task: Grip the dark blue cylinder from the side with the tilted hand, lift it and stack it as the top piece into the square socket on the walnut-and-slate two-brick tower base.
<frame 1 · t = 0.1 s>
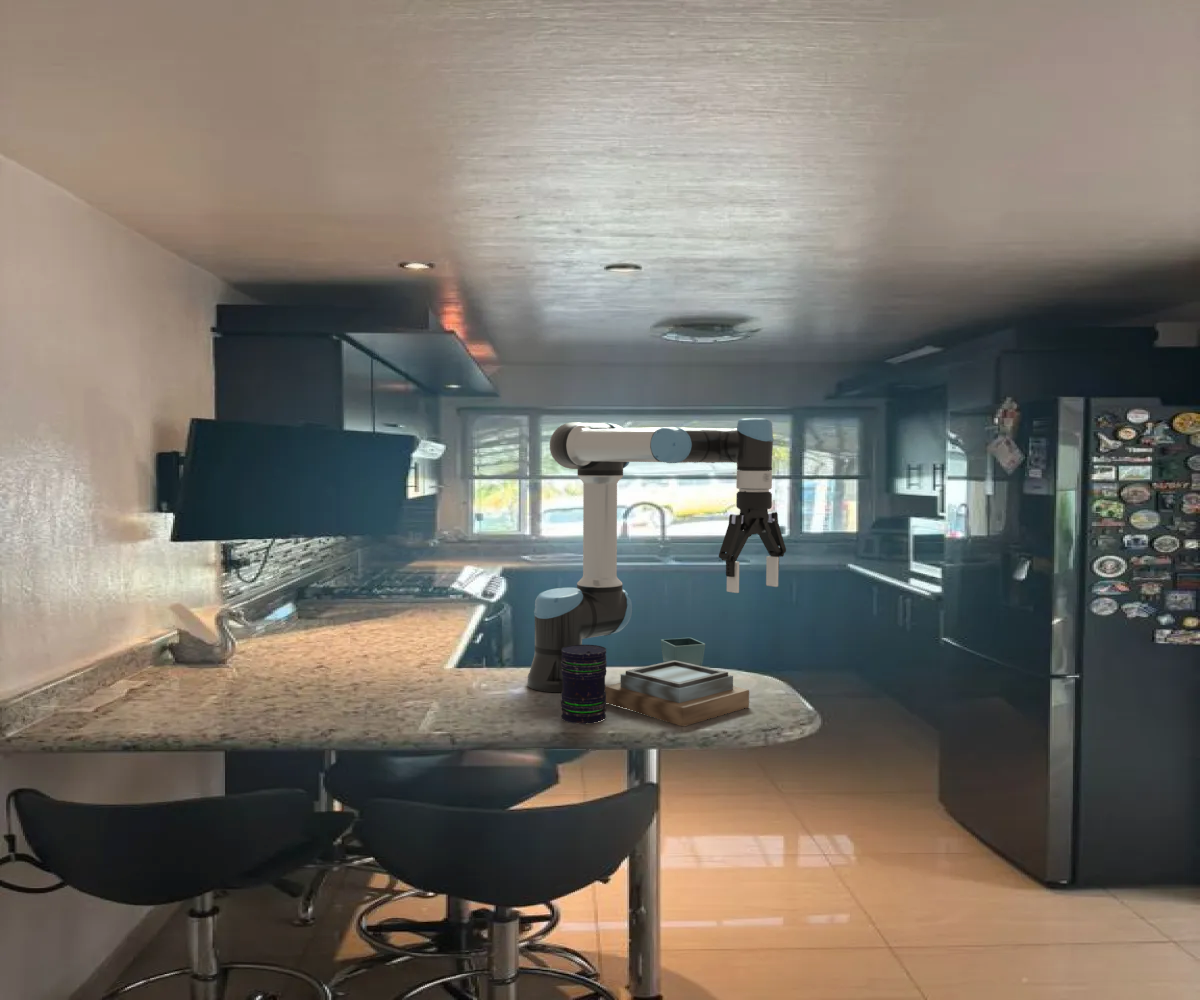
hand: (752, 589, 200), 28 cm above the counter, tool pointing down, fingers open, 13 cm apart
tower base: (676, 705, 211), on the counter
dark blue cylinder: (583, 718, 201), on the counter
flower pot: (682, 676, 239), on the counter
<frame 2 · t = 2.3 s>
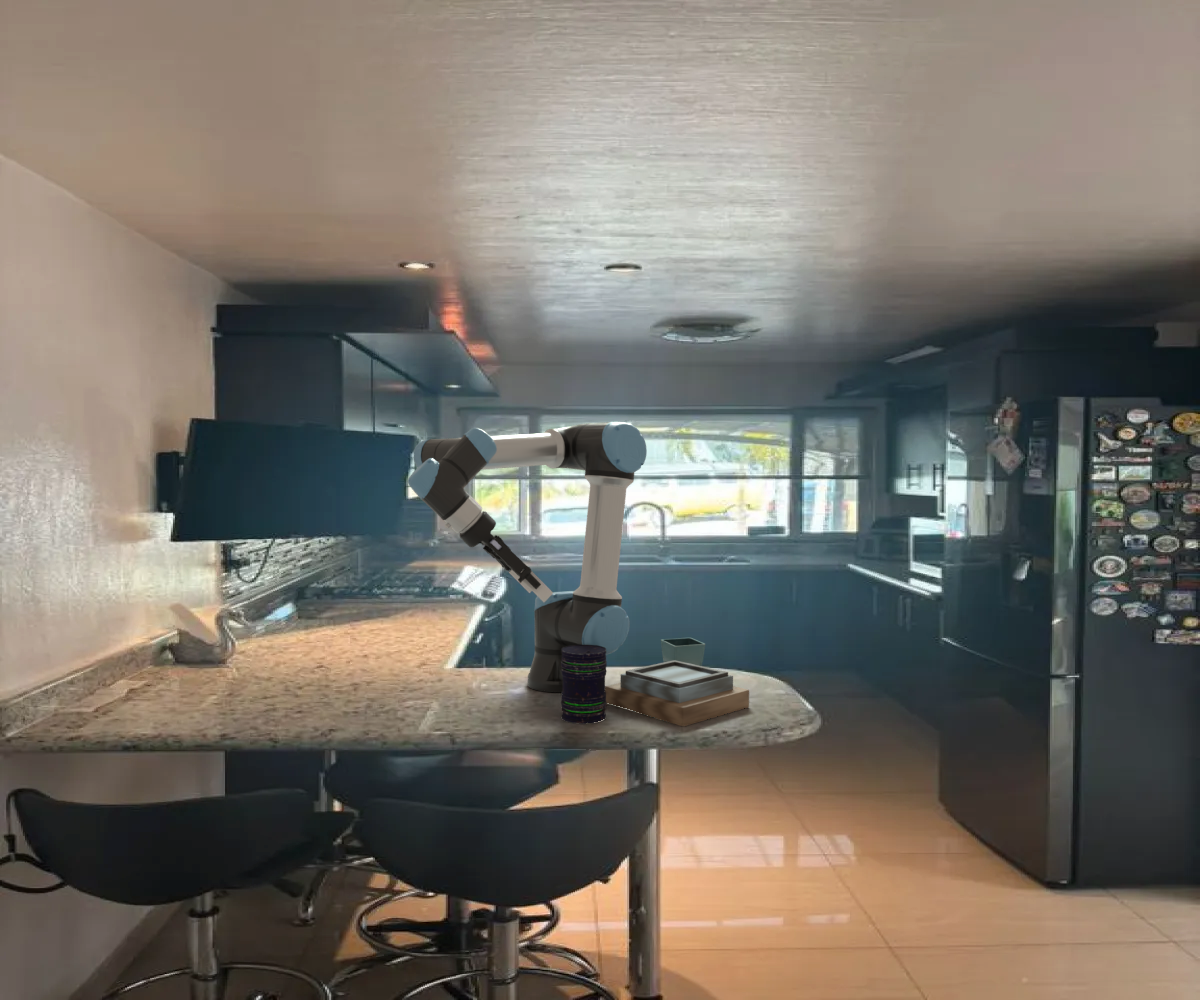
hand: (540, 593, 197), 27 cm above the counter, tool tilted 45°, fingers open, 13 cm apart
nothing on the counter moved.
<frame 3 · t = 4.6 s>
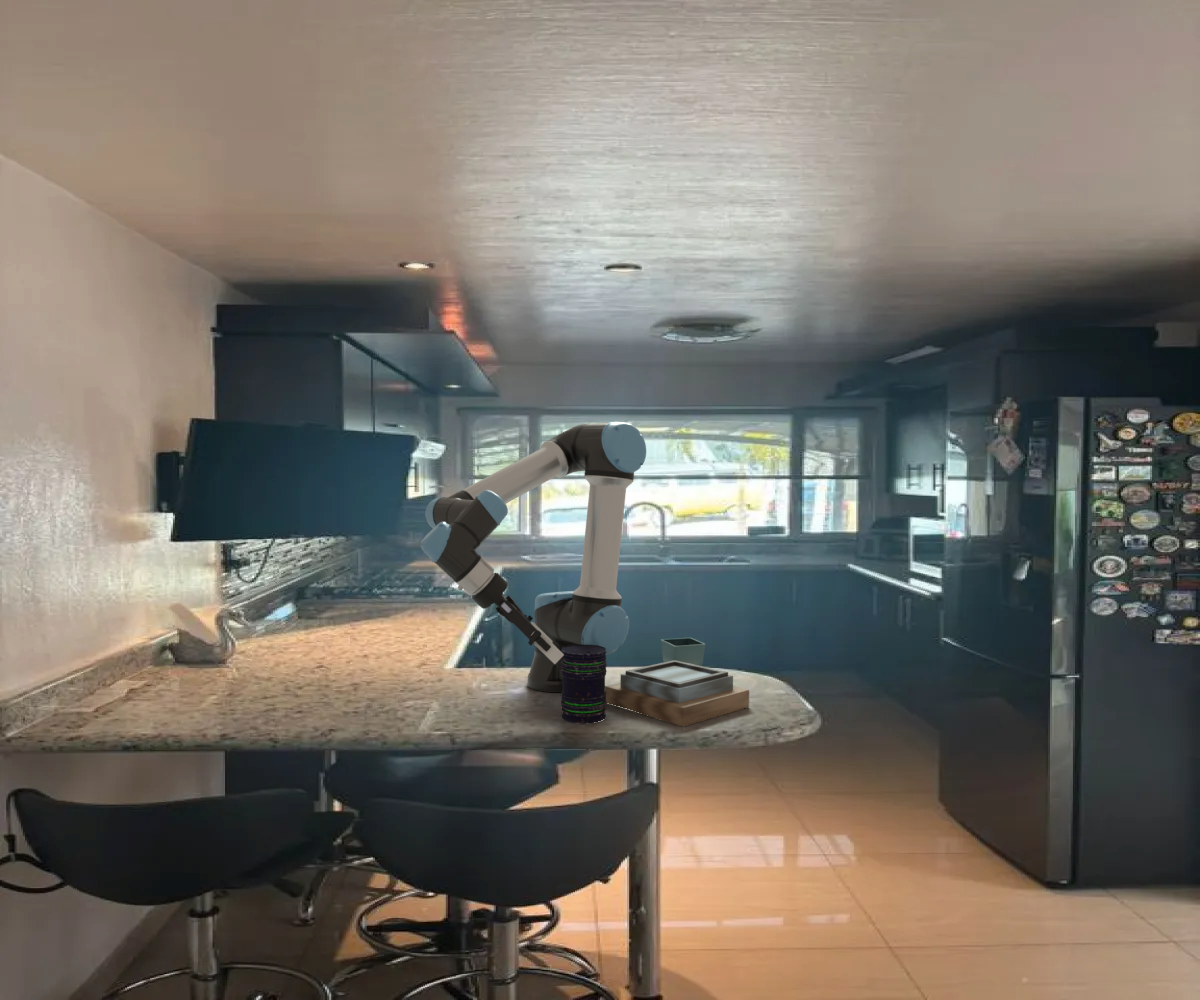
hand: (553, 652, 198), 15 cm above the counter, tool tilted 45°, fingers open, 13 cm apart
nothing on the counter moved.
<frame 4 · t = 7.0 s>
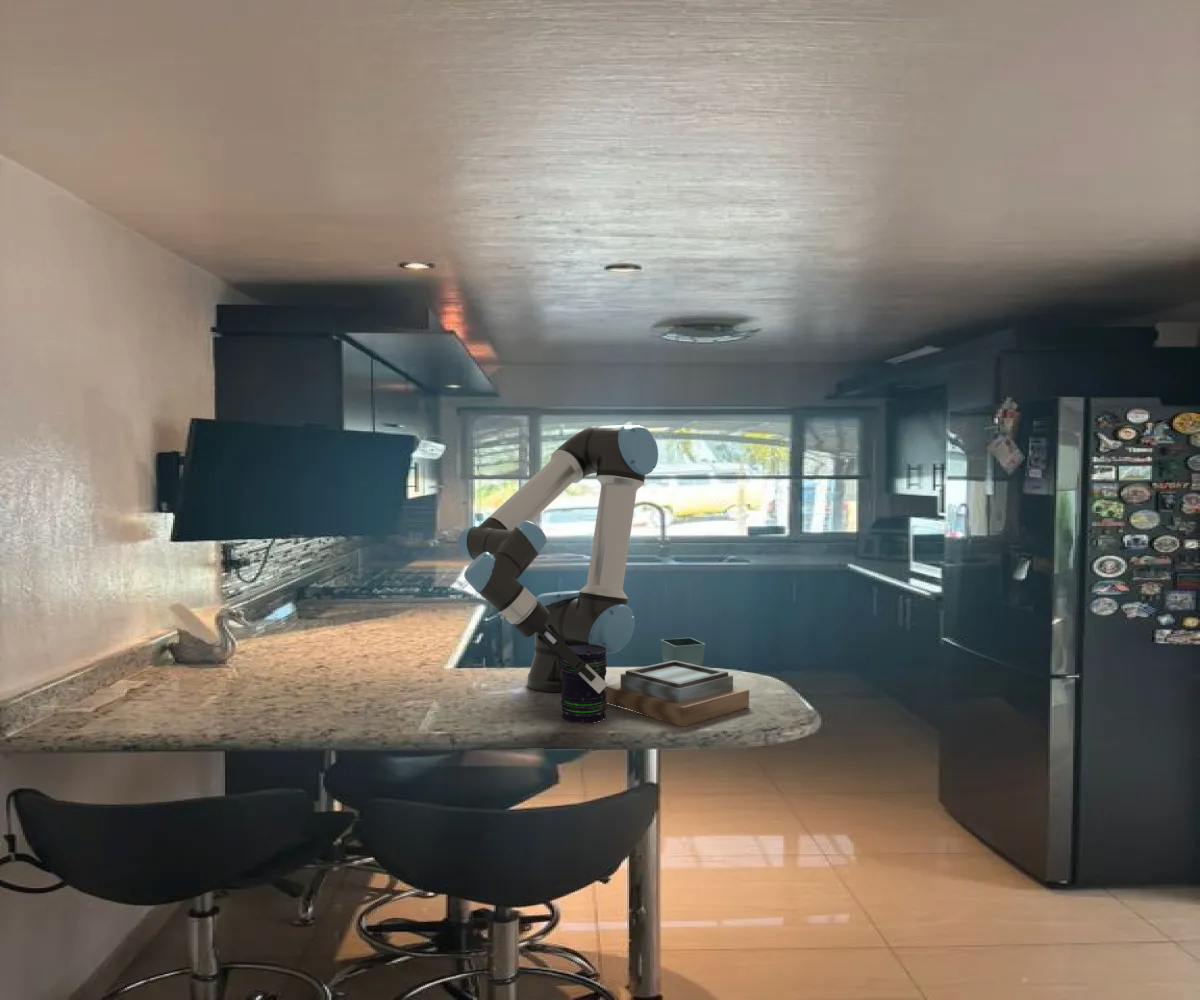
hand: (597, 682, 201), 7 cm above the counter, tool tilted 45°, fingers closed on dark blue cylinder, 10 cm apart
dark blue cylinder: (583, 718, 201), on the counter, touching gripper
everything else where it was.
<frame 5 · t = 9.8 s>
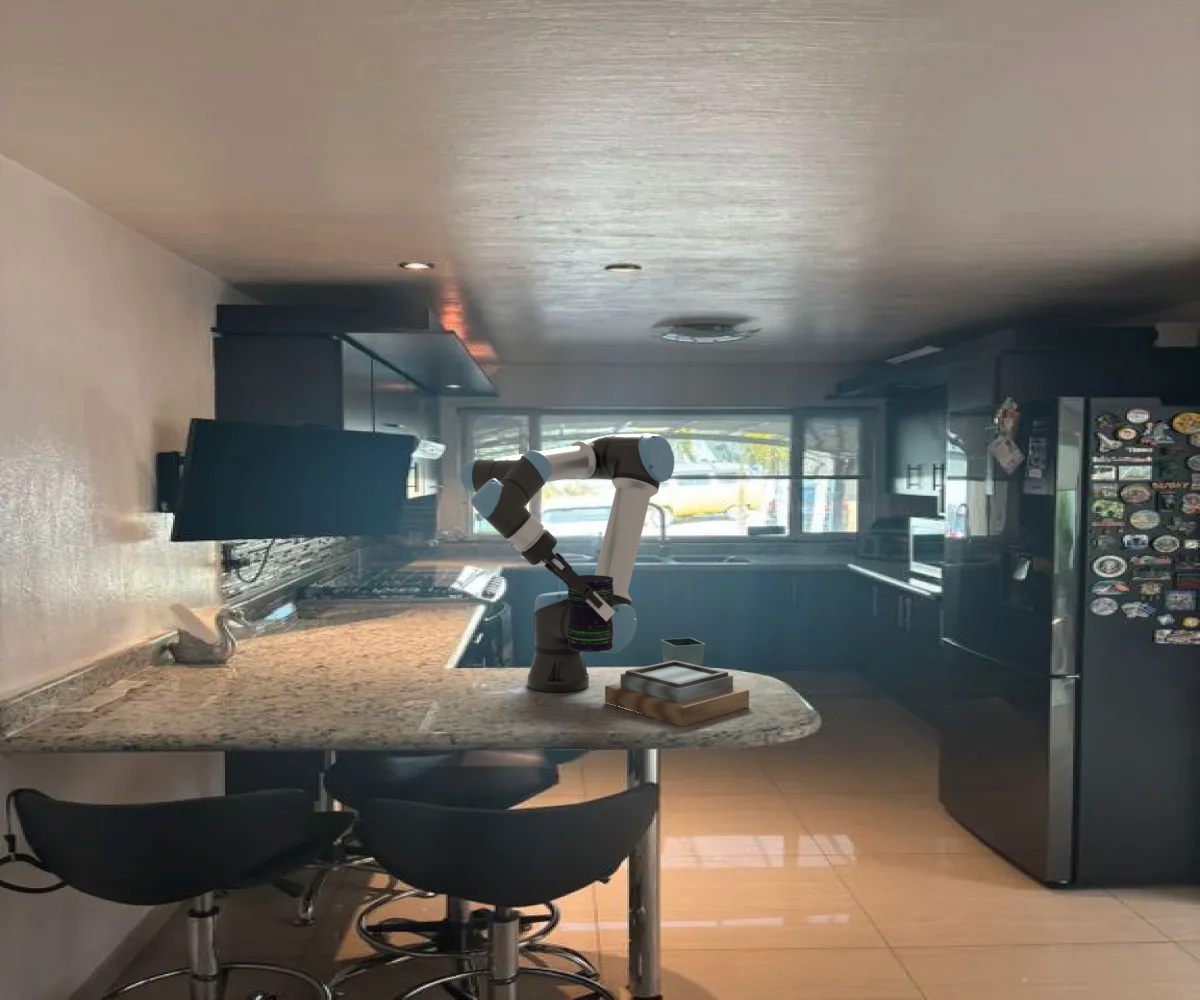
hand: (604, 612, 201), 23 cm above the counter, tool tilted 45°, fingers closed on dark blue cylinder, 10 cm apart
dark blue cylinder: (590, 648, 200), point 15 cm above the counter, touching gripper
everything else where it was.
when the fingers open (16 cm above the counter, at t = 12.8 s): dark blue cylinder drops 2 cm, resting on tower base.
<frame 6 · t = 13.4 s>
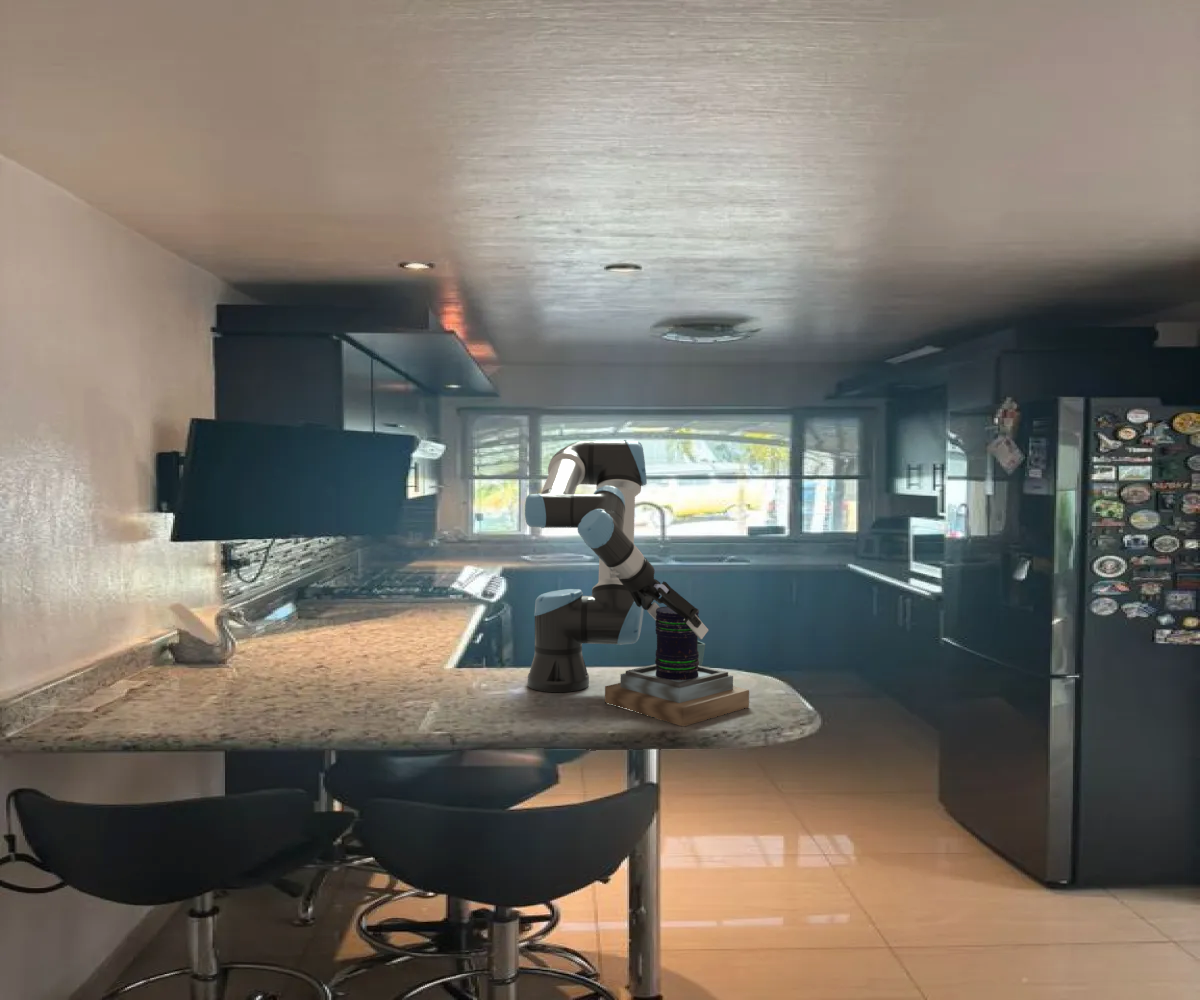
hand: (685, 629, 211), 17 cm above the counter, tool tilted 45°, fingers open, 13 cm apart
dark blue cylinder: (676, 676, 210), point 7 cm above the counter, touching tower base
everything else where it was.
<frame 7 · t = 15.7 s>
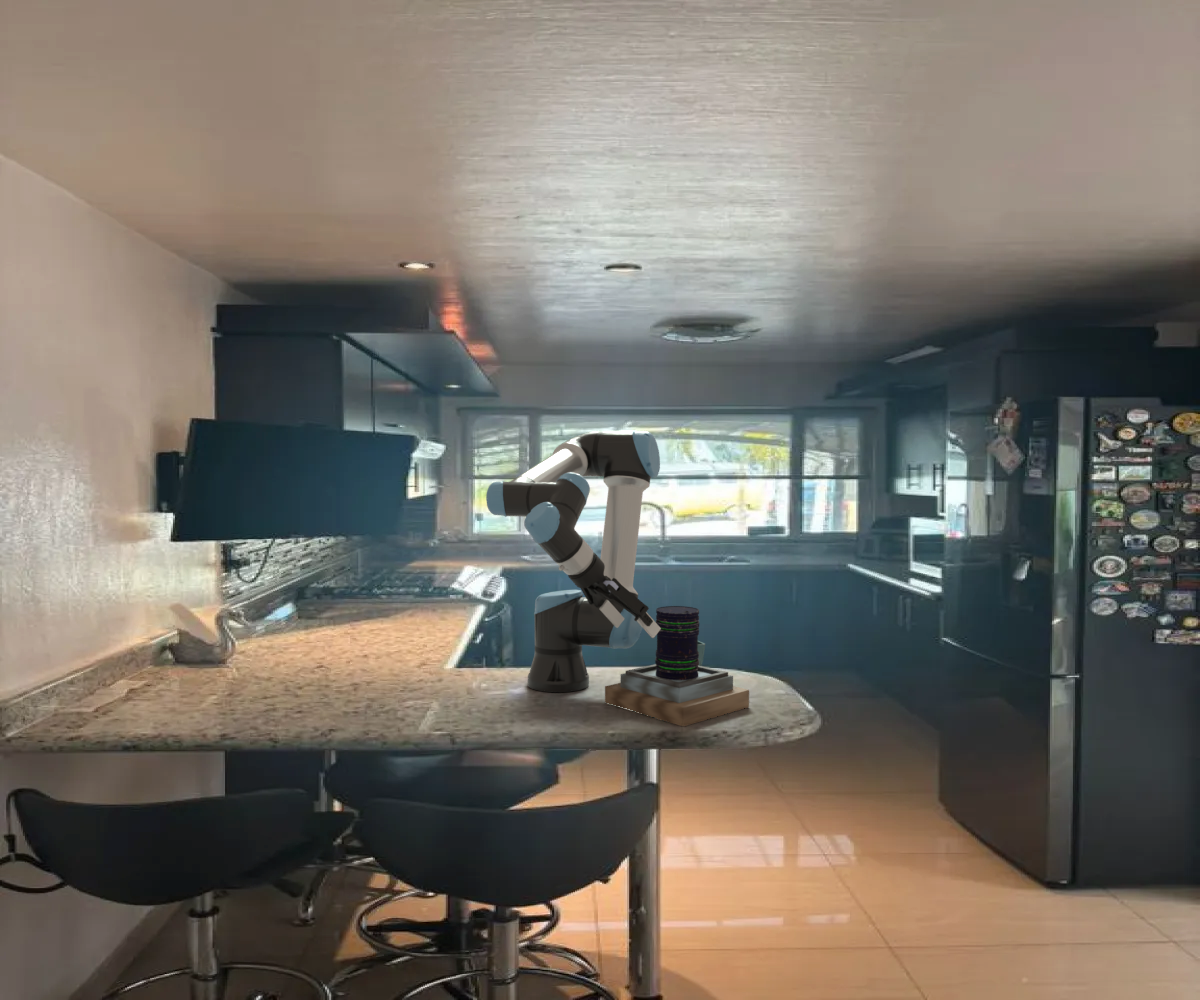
hand: (637, 628, 204), 19 cm above the counter, tool tilted 45°, fingers open, 13 cm apart
nothing on the counter moved.
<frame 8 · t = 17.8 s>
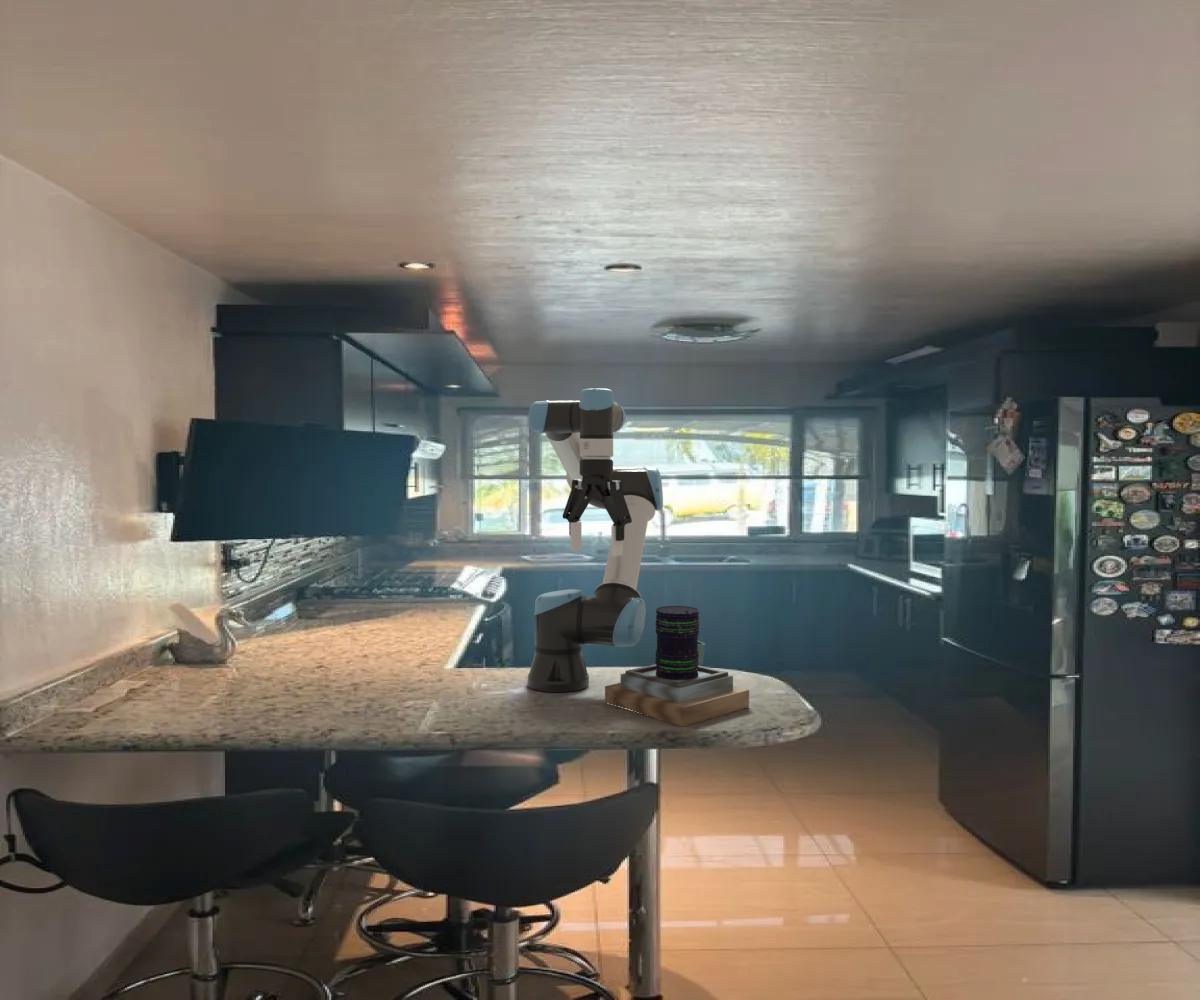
hand: (595, 553, 208), 35 cm above the counter, tool pointing down, fingers open, 13 cm apart
nothing on the counter moved.
at the end: dark blue cylinder 0.2 cm off-centre on the tower base, point 6.8 cm above the tower base's base; dark blue cylinder tilted 0°; the gripper is holding nothing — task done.
